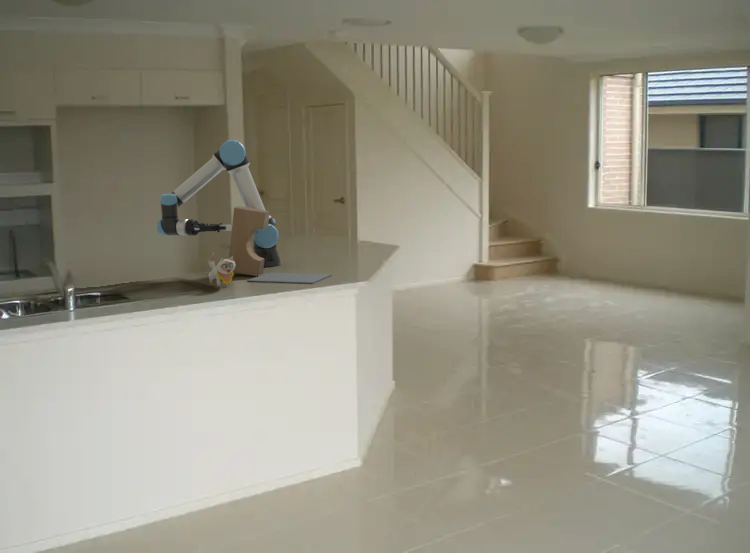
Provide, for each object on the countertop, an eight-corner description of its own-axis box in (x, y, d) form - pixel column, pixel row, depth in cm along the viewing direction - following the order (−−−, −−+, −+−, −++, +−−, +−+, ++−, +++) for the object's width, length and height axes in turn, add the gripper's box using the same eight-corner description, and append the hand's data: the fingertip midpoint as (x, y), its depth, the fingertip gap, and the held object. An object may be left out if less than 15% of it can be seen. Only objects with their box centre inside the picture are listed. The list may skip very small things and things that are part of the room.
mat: (268, 273, 418) (268, 272, 418) (331, 275, 408) (331, 274, 408) (246, 281, 398) (246, 280, 398) (313, 283, 387) (312, 282, 387)
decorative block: (227, 271, 413) (233, 207, 407) (233, 268, 420) (239, 206, 414) (257, 276, 410) (264, 212, 404) (263, 274, 417) (270, 210, 412)
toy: (220, 290, 376) (218, 255, 374) (200, 285, 392) (198, 251, 389) (239, 288, 382) (237, 253, 379) (219, 282, 397) (217, 249, 394)
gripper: (196, 233, 426) (240, 234, 418) (181, 237, 414) (226, 237, 406) (195, 218, 425) (239, 218, 417) (180, 220, 413) (225, 221, 405)
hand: (233, 227), depth 412 cm, fingers closed
